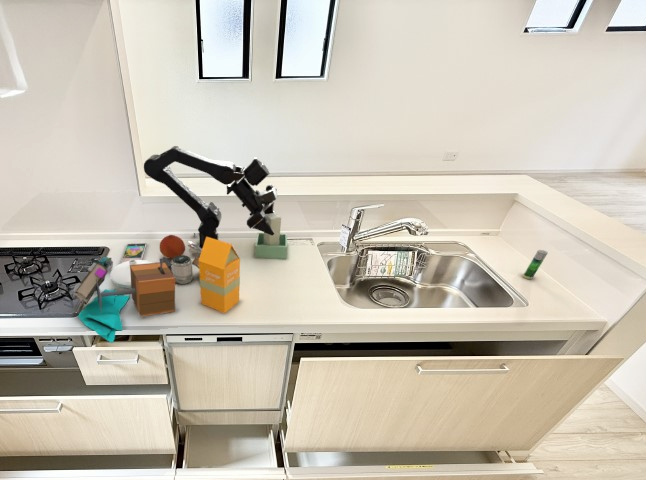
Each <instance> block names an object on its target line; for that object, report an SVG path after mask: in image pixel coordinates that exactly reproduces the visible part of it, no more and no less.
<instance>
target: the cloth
mask: <svg viewBox="0 0 646 480" xmlns="http://www.w3.org/2000/svg"><path fill="white" fill-rule="evenodd" d="M116 290H117V289H108V288H107V289H103V290H102V291H100V293H104V292H112V291H116ZM129 299H130V294H128V295H120V296H117V295H113V296H105V297H101V302H102V311H101V310H100V306H99V301H98V296H96V297H94V298H93V300H91V301H90V302H88V303H87V304H86V306H85V307H84V308H83V309H82V310H80V311H79V314H78V317H77V318H78V319H79V320H80V321H81V322H82V324H83V325H85V326H86V327H88V329H90V330H92V331H94V332H96V334H97V335H98V336H99V337H101V338H102V339H104V340H106V341H107V342H109V343H111V344H112V343H114V342H115V339H116V331H121V332H122V331H124V330H123V325H122V320H121V314H120V312H121V310H122V309H123V308H124V307H125V306H126V304H127V302H128V301H129Z"/></svg>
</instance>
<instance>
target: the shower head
mask: <svg viewBox="0 0 646 480" xmlns="http://www.w3.org/2000/svg"><path fill="white" fill-rule="evenodd" d="M197 235H199V232H193V235H192V236H193V238H196V236H197ZM199 243H200V240H198V241H197V242H196V243H195V244H196V245H198V244H199ZM188 252H189V253H190V254H198V253H199V250H197V249H196V248H190V249H189V251H188Z"/></svg>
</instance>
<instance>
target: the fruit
mask: <svg viewBox="0 0 646 480" xmlns="http://www.w3.org/2000/svg"><path fill="white" fill-rule="evenodd" d="M185 251H186V244H185V242H184V240H183V239H182V238H181V237H179V236H177V235H175V234H169V235H166V236H164V237H163V238H162V239H161V241H160V242H159V252H160V254H161V255H162V256H163V257H164V258H166V259H173V258H174V257H176V256H180V255H184V253H185Z"/></svg>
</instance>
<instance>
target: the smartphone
mask: <svg viewBox="0 0 646 480" xmlns="http://www.w3.org/2000/svg"><path fill="white" fill-rule="evenodd" d="M146 247H147V243H144V242H143V243H140V242H139V243H127V244H126V247H125V249H124V253H123V255H122V258H121V260H120V264H121V263H123V262H126V261H130V260H144V255H145V251H146Z"/></svg>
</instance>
